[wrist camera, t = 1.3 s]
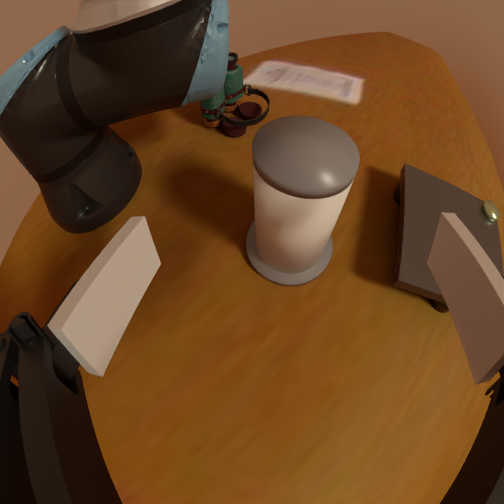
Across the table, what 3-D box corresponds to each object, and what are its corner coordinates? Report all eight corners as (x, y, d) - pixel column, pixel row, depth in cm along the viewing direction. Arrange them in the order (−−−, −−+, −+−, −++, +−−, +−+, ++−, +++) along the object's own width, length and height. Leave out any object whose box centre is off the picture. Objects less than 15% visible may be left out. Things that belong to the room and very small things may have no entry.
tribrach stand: (382, 293, 26) (402, 277, 22) (394, 183, 32) (406, 159, 28) (483, 326, 23) (508, 315, 19) (480, 222, 30) (497, 204, 25)
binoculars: (253, 89, 26) (185, 69, 28) (249, 150, 36) (192, 127, 38) (287, 63, 30) (225, 46, 31) (278, 118, 39) (225, 98, 41)
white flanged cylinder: (233, 269, 28) (212, 178, 15) (262, 201, 31) (262, 99, 19) (318, 297, 26) (367, 223, 14) (338, 224, 30) (376, 129, 17)
